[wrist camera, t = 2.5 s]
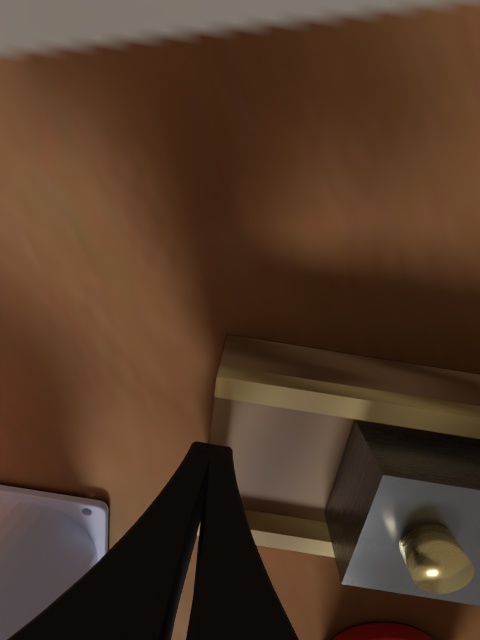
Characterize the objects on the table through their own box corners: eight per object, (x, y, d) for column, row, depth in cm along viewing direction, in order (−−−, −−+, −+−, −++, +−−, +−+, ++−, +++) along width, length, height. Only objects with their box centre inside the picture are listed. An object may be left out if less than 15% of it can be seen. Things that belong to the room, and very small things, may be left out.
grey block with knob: (324, 512, 12) (348, 615, 9) (354, 418, 11) (396, 500, 7) (471, 535, 12) (548, 646, 9) (521, 445, 11) (633, 538, 7)
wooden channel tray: (208, 461, 15) (194, 535, 12) (227, 334, 13) (216, 376, 9) (556, 516, 15) (650, 607, 12) (632, 398, 13) (778, 465, 9)
